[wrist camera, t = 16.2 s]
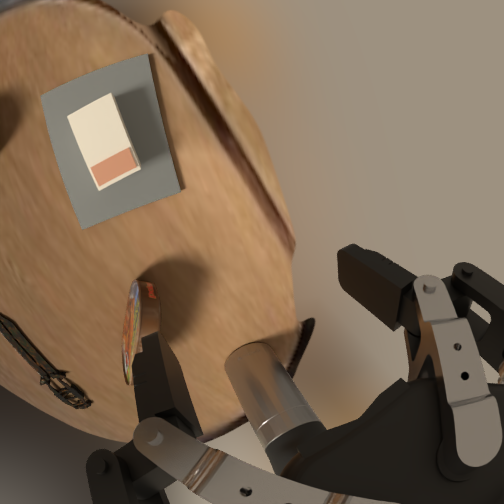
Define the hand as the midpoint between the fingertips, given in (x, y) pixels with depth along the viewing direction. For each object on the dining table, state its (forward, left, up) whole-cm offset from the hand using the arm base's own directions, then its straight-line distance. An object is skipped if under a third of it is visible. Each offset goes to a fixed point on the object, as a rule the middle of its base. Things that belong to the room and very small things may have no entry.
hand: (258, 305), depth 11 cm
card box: (+7, +6, -21) cm, 23 cm away
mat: (+7, +6, -22) cm, 24 cm away
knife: (-18, +31, -23) cm, 43 cm away
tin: (-15, +11, -22) cm, 29 cm away
